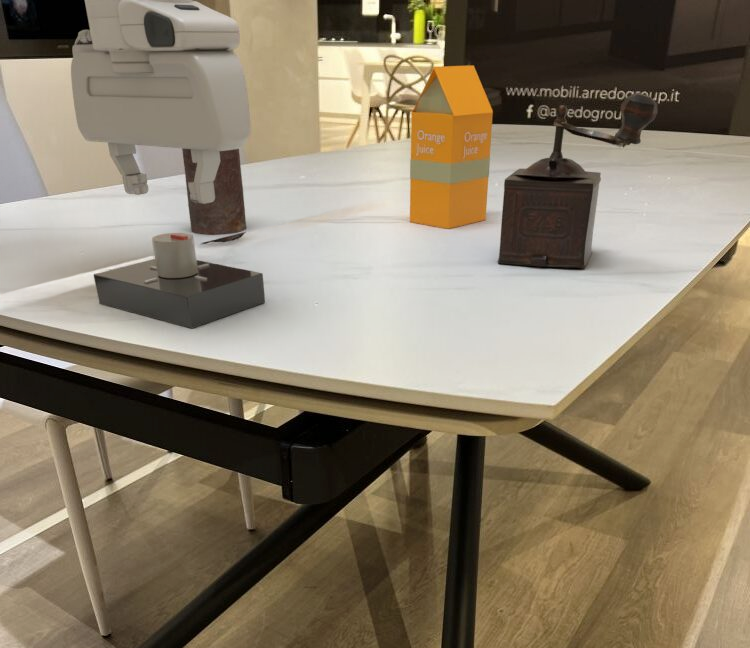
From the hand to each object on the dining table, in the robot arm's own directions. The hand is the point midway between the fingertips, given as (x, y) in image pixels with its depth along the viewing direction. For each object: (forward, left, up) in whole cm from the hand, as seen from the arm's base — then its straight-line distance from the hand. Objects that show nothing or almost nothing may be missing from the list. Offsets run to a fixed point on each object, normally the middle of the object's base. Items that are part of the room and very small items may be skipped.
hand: (169, 198), depth 71 cm
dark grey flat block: (0, 0, -10) cm, 10 cm away
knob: (0, 0, -7) cm, 7 cm away
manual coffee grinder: (+25, +39, -10) cm, 47 cm away
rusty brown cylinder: (-18, +22, -10) cm, 31 cm away
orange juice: (+1, +51, -10) cm, 52 cm away
